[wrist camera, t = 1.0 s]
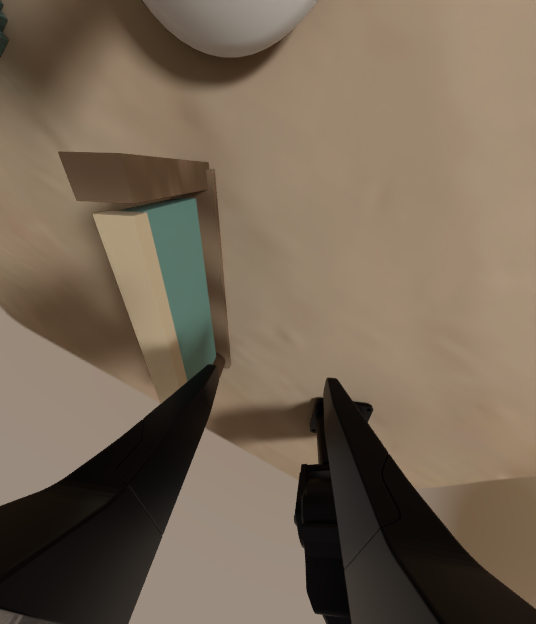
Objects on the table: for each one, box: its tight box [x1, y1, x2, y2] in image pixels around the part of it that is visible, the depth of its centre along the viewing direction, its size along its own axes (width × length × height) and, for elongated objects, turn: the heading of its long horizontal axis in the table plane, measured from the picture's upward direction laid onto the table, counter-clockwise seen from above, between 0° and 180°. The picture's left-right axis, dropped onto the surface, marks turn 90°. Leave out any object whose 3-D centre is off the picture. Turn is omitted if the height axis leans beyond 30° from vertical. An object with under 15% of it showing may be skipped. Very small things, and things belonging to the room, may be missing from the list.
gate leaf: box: [93, 198, 216, 403], centre depth 16 cm, size 15×2×7 cm, turn 178°
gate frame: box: [58, 152, 231, 378], centre depth 17 cm, size 19×3×9 cm, turn 178°
